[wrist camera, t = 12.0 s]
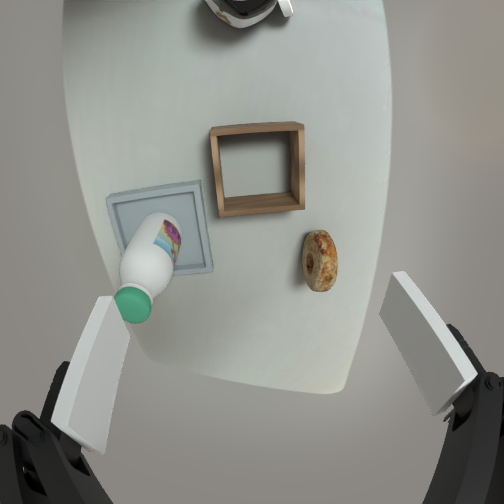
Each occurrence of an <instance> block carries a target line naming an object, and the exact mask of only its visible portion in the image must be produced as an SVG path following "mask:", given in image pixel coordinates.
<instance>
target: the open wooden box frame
mask: <svg viewBox="0 0 504 504" xmlns="http://www.w3.org/2000/svg"><path fill="white" fill-rule="evenodd" d="M270 131H289V136H290V166H291V192H284V193H271V194H260V195H248V196H238V197H228V198H225V197H224V188H223V179H222V170H221V160H220V150H219V140H218V136H220V135H230V134H241V133H254V132H270ZM210 139H211V149H212V158H213V167H214V175H215V184H216V192H217V201H218V209H219V217H227V216H237V215H247V214H257V213H268V212H280V211H292V210H304V209H305V141H304V125H303V124H300V123H297V122H267V123H251V124H238V125H227V126H218V127H212V128H211V129H210Z"/></svg>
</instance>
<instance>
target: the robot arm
mask: <svg viewBox="0 0 504 504" xmlns="http://www.w3.org/2000/svg"><path fill="white" fill-rule="evenodd" d="M379 315H380V316H381V318H382V320H383V322H384V323H385V325H386V327H387V329H388V331H389V332H390V334H391V336H392V337H393V339H394V341H395V343H396V345H397V347H398V349H399V351H400V352H401V354H402V356H403V358H404V360H405V362H406V364H407V366H408V367H409V369H410V371H411V373H412V375H413V377H414V379H415V381H416V383H417V385H418V387H419V389H420V391H421V393H422V395H423V398H424V400H425V402H426V404H427V406H428V408H429V410H430V412H431V415H432V416H435V415H437V414H440V413H441V412H444V411H446V410H447V408H448V407H449V406H450V405H451V404H453V406H454V409H453V410H452V411H451V412H450V413H449V414H448V415H447V416H446V417H445V418H444V420H443V421H444V422H445V421H446V420H447V419H448V418H449V417H450V420H449V421H448V423H449V425H448V429H447V433H446V438H445V441H444V445H443V448H442V451H441V455H440V458H439V461H438V464H437V467H436V470H435V473H434V476H433V479H432V481H431V484H430V486H429V489H428V492H427V494H426V497H425V499H424V501H423V503H422V504H504V377H499V376H498V375H497V374H495V373H493V372H486V371H485V370H484V368H483V367H482V365H481V363H480V362H479V360H478V359H477V357H476V356H475V354H474V353H473V351H472V350H471V348H470V347H468V344H467V342H466V341H464V338H463V336H462V335H461V334H460V332H459V331H458V330H457V329H456V328H455V327H453V326H452V325H451V324H447V325H445V323H444V322H443V321H442V319H441V318H440V317H439V315H438V314H437V312H436V311H435V310H434V308H433V307H432V306H431V304H430V303H429V302H428V300H427V299H426V298H425V296H424V295H423V294H422V293H421V291H420V290H419V289H418V288H417V286H416V285H415V284H414V282H413V281H412V280H411V279H410V278H409V276H408V275H407V274H406V273H405V271H400V272H393V273H392V274H391V278H390V281H389V285H388V288H387V291H386V295H385V298H384V301H383V304H382V307H381V310H380V313H379ZM130 337H131V336H130V334H129V332H128V330H127V328H126V326H125V324H124V321H123V319H122V316H121V314H120V312H119V309H118V307H117V305H116V302H115V300H114V298H113V296H99V298H98V300H97V302H96V304H95V306H94V308H93V310H92V313H91V315H90V317H89V319H88V321H87V324H86V326H85V328H84V330H83V333H82V335H81V337H80V340H79V342H78V345H77V347H76V350H75V352H74V354H73V357H72V360H71V362H67V361H64V362H63V363H62V364H61V365H60V367H59V368H58V369H57V370H56V374H55V376H54V379H53V382H52V384H51V386H50V390H49V392H48V395H47V398H46V401H45V404H44V407H43V410H42V413H41V416H40V419H38V418H37V417H36V416H35V415H34V414H33V413H31V412H30V411H26V410H24V411H21V412H19V413H18V414H17V415H16V416H15V417H14V419H13V422H12V430H11V429H10V428H9V427H7V426H6V425H2V424H1V425H0V504H113V502H112V501H111V500H110V498H109V497H108V495H107V494H106V492H105V491H104V489H103V488H102V486H101V484H100V483H99V481H98V480H97V478H96V477H95V475H94V473H93V471H92V470H91V468H90V466H89V464H88V463H87V461H86V459H85V457H84V455H83V454H82V453H81V447H83V448H85V449H86V450H87V451H89V452H93V453H98V454H103V455H105V449H106V442H107V436H108V431H109V425H110V420H111V415H112V410H113V406H114V401H115V396H116V392H117V387H118V383H119V379H120V375H121V371H122V367H123V363H124V359H125V355H126V351H127V348H128V344H129V341H130ZM23 467H24V471H23Z"/></svg>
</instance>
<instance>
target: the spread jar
mask: <svg viewBox="0 0 504 504" xmlns="http://www.w3.org/2000/svg"><path fill="white" fill-rule="evenodd" d="M206 2H207V4H208V5H209V7H210V8H211V9H212V11H213V12H214V13H215V14H216V15H217V16H218V17H219V18H220V19H221V20H223V21H224V22H226V23H228V24H229V25H231V26H234V27H237V28H245V27H248V26H251V25H253V24H255V23H257V22H259V21H261V20H262V19H264V18H265V17H266V16H267V15H268V14H269V13H271V11H272V10H273V9H274V7H275V5H276V3H277V0H206ZM278 2H279V5H280V7H281V10H282V12H283V15H284V17H288V16H294V14H293V10H292V7H291V4H290V1H289V0H278Z"/></svg>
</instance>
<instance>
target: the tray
mask: <svg viewBox="0 0 504 504" xmlns="http://www.w3.org/2000/svg"><path fill="white" fill-rule="evenodd" d="M105 200H106V204H107V208H108V212H109V215H110V219H111V223H112V226H113V230H114V233H115V236H116V240H117V243H118V246H119V249H120V252H121V256H123V254H124V252H125V250H126V248H127V246H128V244H129V242H130V240H131V239H132V237H133V235H134V234H135V232H136V230H137V229H138V227H139V225H140V224H141V222H142V221H143V219H144V218H145V217H147V216H148V215H150V214H152V213H157V212H162V213H166V214H169V215H171V216H173V217H174V218H175V219H176V220H177V221H178V222H179V224H180V226H181V228H182V232H183V236H182V242H181V245H180V249H179V253H178V257H177V260H176V264H175V267H174V271H173V274H172V276H173V275H184V274H195V273H205V272H213V260H212V254H211V248H210V241H209V235H208V229H207V222H206V215H205V208H204V201H203V194H202V187H201V180H196V181H188V182H181V183H174V184H167V185H160V186H154V187H148V188H142V189H136V190H130V191H125V192H119V193H114V194H110V195H109V196H108V197H107V198H106V199H105Z"/></svg>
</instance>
